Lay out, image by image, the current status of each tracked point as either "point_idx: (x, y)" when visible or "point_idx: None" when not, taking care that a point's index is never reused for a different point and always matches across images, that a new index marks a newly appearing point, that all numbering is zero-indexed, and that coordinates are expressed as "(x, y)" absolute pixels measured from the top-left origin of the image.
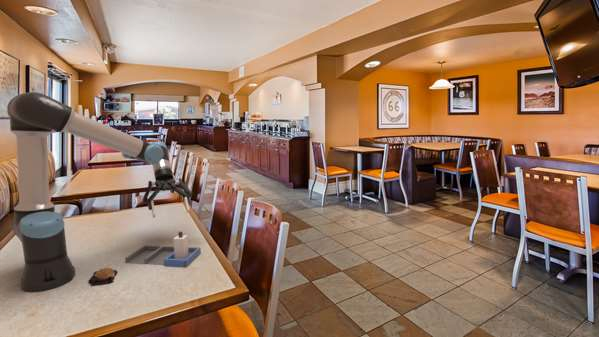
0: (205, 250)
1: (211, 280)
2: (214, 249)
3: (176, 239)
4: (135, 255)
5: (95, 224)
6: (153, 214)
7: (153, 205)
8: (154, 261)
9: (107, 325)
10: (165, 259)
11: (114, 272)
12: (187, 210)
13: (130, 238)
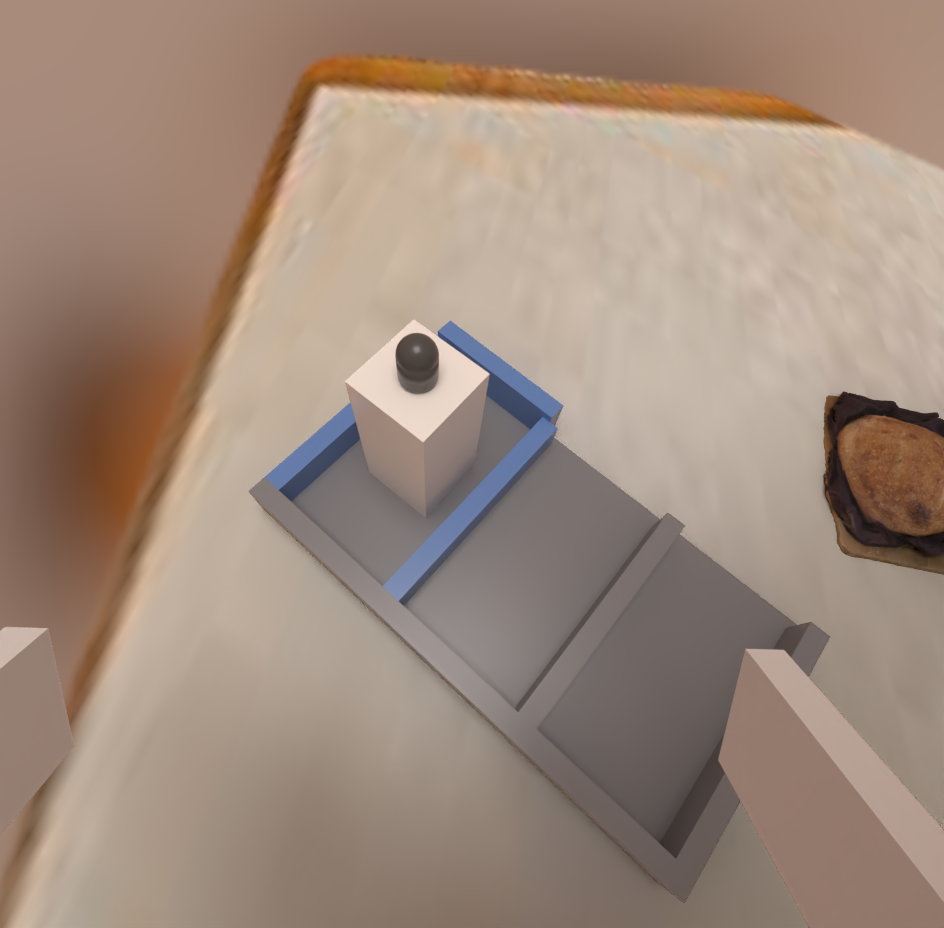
0: (206, 537)
1: (377, 171)
2: (139, 514)
3: (465, 361)
4: None
5: None
6: (784, 652)
7: (930, 874)
8: (603, 531)
9: (782, 119)
10: (551, 398)
11: (849, 475)
12: (53, 659)
13: None
